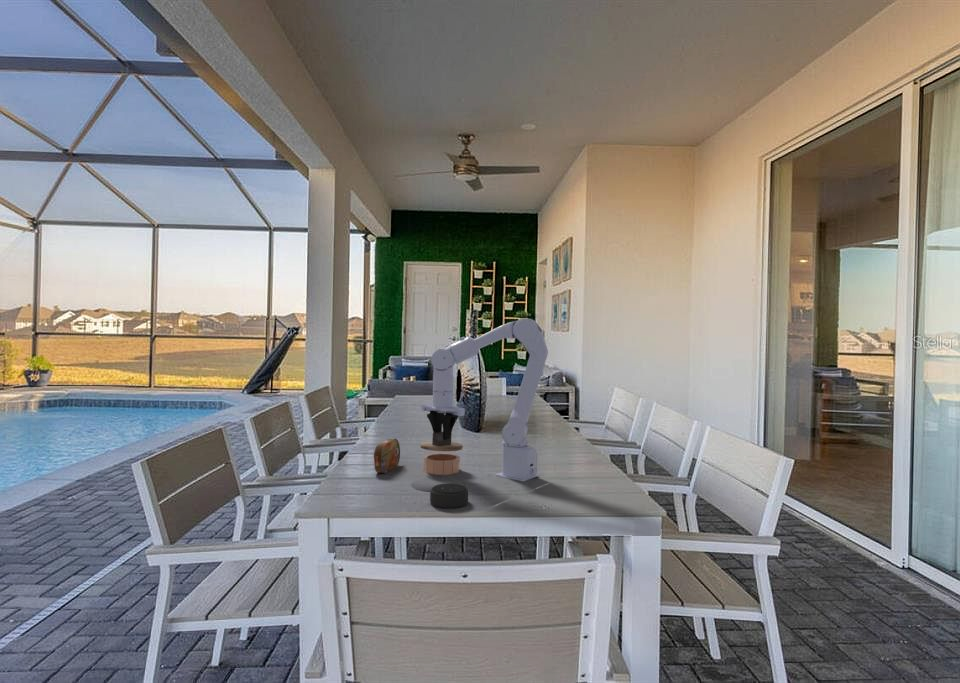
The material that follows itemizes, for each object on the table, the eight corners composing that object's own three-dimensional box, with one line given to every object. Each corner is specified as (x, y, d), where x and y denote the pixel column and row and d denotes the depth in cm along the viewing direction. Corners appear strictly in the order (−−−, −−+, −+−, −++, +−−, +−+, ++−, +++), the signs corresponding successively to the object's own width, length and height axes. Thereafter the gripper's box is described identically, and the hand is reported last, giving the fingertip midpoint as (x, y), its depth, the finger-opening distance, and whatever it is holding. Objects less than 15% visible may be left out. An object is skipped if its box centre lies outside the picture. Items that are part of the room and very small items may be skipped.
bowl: (466, 470, 164) (466, 456, 164) (443, 477, 156) (444, 463, 156) (439, 465, 170) (440, 451, 170) (417, 471, 162) (417, 457, 162)
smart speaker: (427, 500, 137) (427, 483, 136) (464, 498, 139) (464, 481, 138) (432, 511, 128) (433, 494, 128) (471, 509, 130) (471, 492, 130)
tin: (382, 477, 156) (382, 446, 156) (371, 476, 157) (372, 445, 157) (400, 464, 171) (401, 436, 171) (391, 463, 172) (391, 435, 171)
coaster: (475, 484, 150) (475, 483, 150) (441, 496, 139) (441, 495, 139) (435, 475, 158) (435, 474, 158) (399, 486, 147) (399, 485, 147)
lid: (470, 448, 164) (471, 433, 164) (444, 452, 155) (445, 437, 155) (439, 442, 171) (439, 428, 171) (411, 446, 162) (412, 431, 162)
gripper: (414, 390, 164) (413, 437, 164) (453, 394, 155) (453, 444, 156) (430, 388, 169) (430, 433, 170) (469, 392, 161) (468, 440, 161)
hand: (442, 438), depth 163 cm, fingers closed on lid, 3 cm apart
